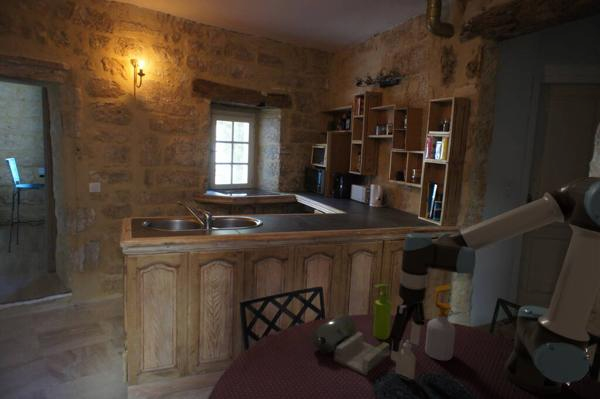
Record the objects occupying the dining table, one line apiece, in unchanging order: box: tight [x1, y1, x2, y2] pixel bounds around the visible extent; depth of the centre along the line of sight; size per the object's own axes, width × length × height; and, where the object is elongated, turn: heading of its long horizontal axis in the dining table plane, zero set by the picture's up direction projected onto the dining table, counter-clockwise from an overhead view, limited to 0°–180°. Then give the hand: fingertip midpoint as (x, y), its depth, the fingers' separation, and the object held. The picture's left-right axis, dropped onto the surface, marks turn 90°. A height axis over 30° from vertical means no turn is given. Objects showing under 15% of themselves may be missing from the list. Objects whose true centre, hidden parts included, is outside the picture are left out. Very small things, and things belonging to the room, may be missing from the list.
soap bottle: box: [424, 284, 456, 361], centre depth 127 cm, size 9×9×25 cm
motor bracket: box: [311, 313, 391, 377], centre depth 125 cm, size 22×18×9 cm
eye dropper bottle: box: [395, 339, 417, 381], centre depth 113 cm, size 4×6×12 cm
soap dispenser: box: [372, 283, 393, 340], centre depth 138 cm, size 6×7×20 cm
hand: (405, 351), depth 113 cm, fingers open, 13 cm apart
